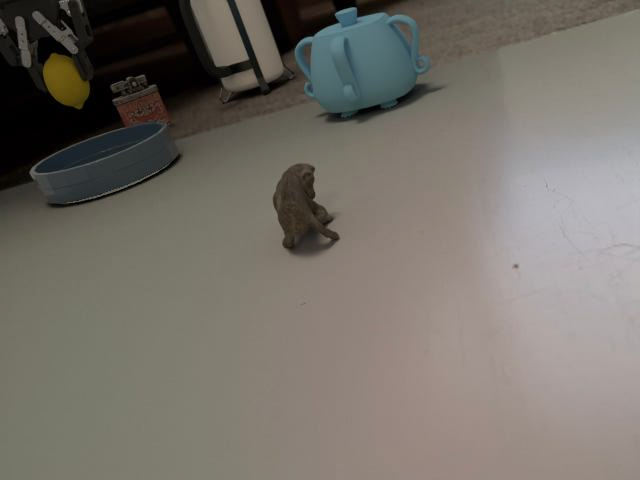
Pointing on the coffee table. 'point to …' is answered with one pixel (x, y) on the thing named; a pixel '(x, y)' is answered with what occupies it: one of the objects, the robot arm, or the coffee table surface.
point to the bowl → (104, 162)
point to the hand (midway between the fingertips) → (68, 85)
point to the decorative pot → (361, 62)
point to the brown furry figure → (299, 204)
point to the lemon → (65, 81)
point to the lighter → (140, 102)
